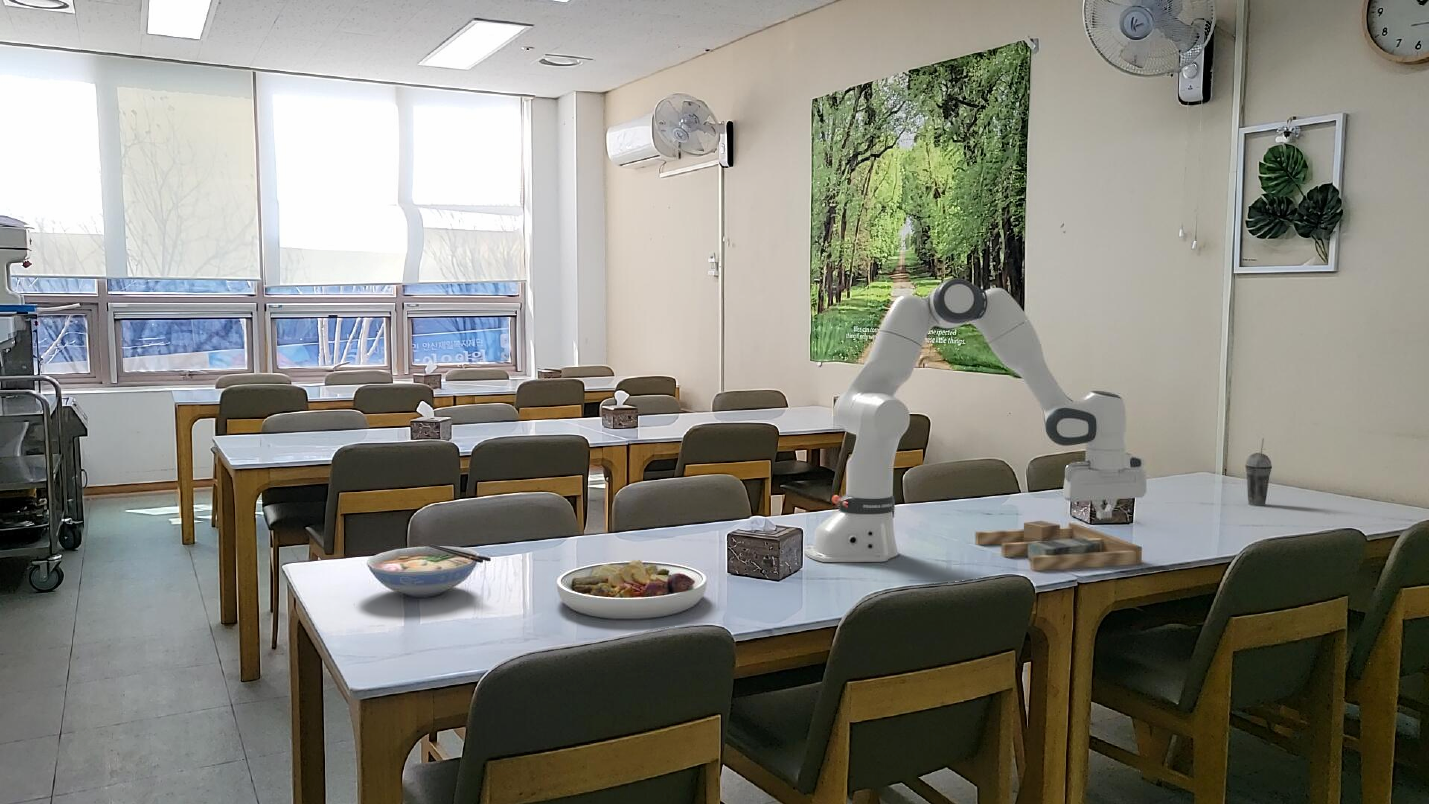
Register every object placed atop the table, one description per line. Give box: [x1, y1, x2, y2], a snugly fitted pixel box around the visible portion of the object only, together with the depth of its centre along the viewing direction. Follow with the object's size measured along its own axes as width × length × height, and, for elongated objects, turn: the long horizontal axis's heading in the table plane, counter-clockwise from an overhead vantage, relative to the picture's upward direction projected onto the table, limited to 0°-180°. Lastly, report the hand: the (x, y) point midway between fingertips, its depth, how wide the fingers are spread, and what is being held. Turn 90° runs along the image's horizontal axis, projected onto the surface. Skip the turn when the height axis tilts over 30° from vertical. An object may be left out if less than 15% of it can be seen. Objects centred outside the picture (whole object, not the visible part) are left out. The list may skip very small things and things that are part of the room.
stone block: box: [1027, 537, 1100, 562], centre depth 254 cm, size 9×14×5 cm, turn 105°
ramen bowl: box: [366, 541, 492, 598], centre depth 226 cm, size 25×23×8 cm
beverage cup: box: [1244, 438, 1273, 507], centre depth 326 cm, size 7×7×20 cm
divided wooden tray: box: [974, 522, 1143, 572], centre depth 262 cm, size 28×28×4 cm
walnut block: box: [1023, 520, 1061, 542], centre depth 269 cm, size 6×6×6 cm
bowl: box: [556, 559, 708, 620], centre depth 220 cm, size 30×30×8 cm
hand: (1104, 518), depth 257 cm, fingers closed
